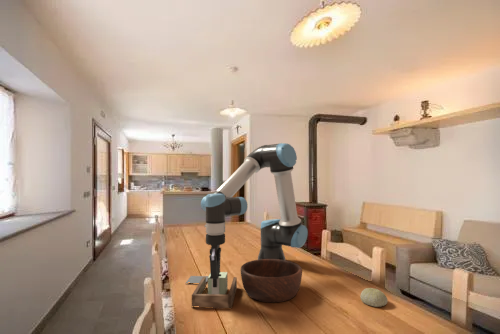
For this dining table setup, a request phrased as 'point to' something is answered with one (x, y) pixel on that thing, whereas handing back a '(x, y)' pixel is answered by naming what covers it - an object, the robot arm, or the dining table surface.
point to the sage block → (222, 283)
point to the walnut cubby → (213, 296)
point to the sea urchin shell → (373, 297)
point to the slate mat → (196, 279)
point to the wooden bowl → (271, 279)
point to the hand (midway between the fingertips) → (215, 294)
